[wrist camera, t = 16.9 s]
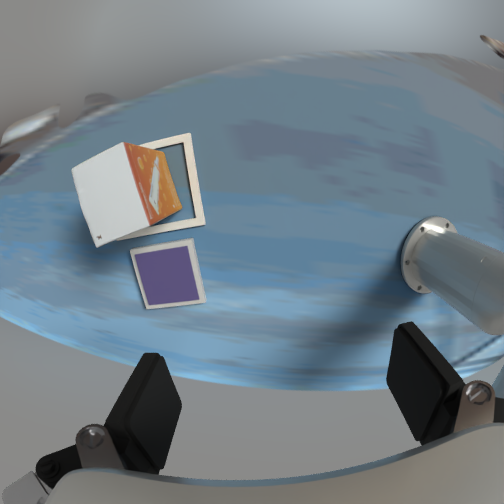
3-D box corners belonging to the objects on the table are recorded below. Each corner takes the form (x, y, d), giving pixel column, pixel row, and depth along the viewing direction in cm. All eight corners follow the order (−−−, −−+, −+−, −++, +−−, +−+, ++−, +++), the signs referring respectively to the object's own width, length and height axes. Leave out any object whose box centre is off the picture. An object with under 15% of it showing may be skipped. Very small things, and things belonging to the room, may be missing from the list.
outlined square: (190, 133, 32) (190, 132, 32) (205, 224, 35) (205, 224, 35) (102, 157, 32) (101, 157, 32) (117, 240, 36) (116, 240, 35)
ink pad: (193, 237, 36) (191, 240, 34) (206, 299, 38) (205, 303, 37) (132, 248, 36) (128, 250, 35) (148, 306, 38) (146, 310, 37)
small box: (183, 208, 35) (151, 227, 22) (141, 224, 35) (94, 250, 23) (164, 150, 32) (123, 139, 20) (123, 168, 33) (68, 169, 20)
